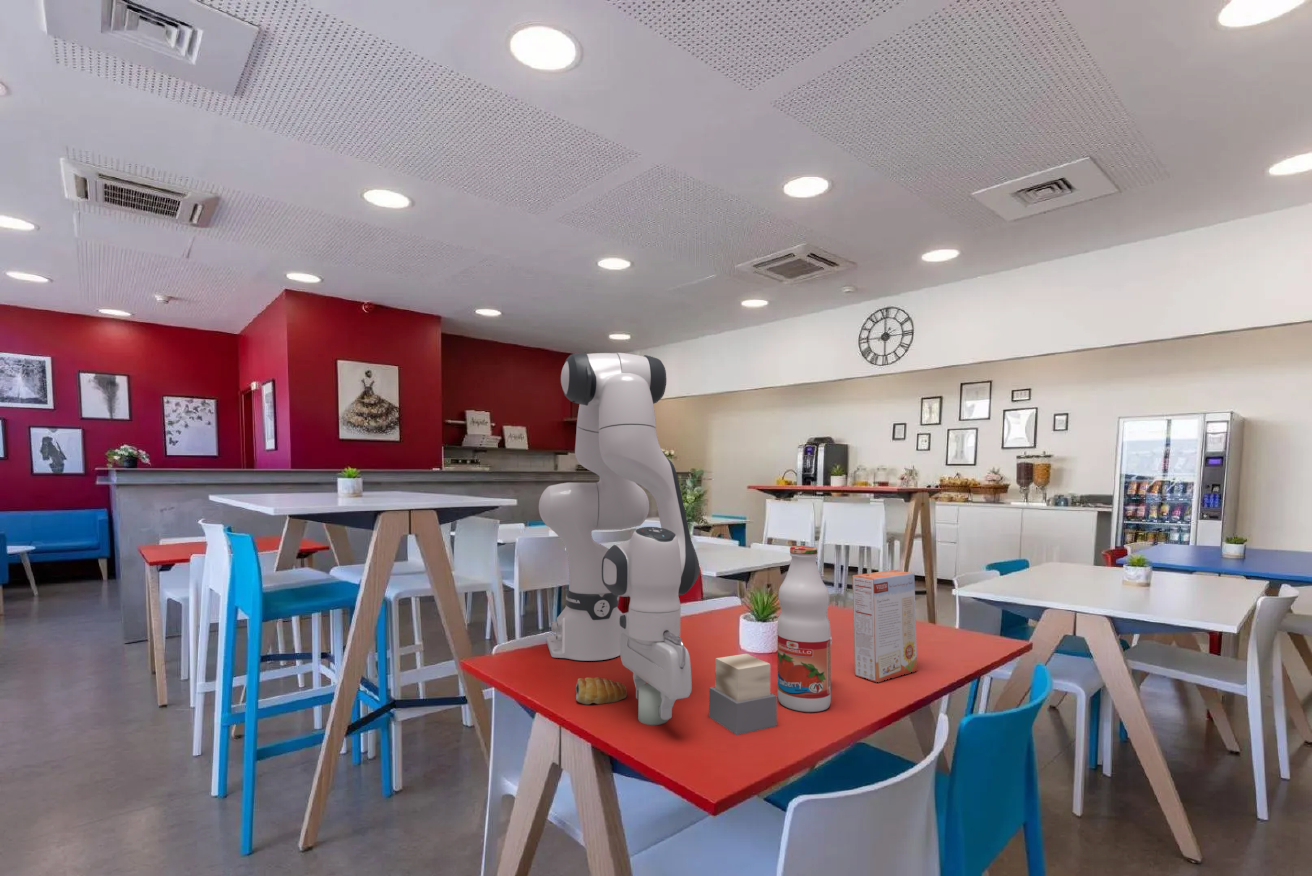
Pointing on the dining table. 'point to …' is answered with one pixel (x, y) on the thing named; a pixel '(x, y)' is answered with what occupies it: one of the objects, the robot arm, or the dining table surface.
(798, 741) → the dining table surface
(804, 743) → the dining table surface
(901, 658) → the cracker box
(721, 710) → the tower base
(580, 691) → the pastry
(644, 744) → the dining table surface
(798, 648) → the fruit juice
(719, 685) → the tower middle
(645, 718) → the grey round cylinder
